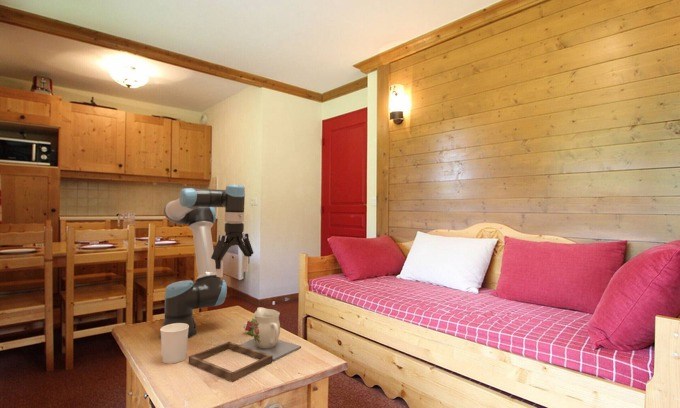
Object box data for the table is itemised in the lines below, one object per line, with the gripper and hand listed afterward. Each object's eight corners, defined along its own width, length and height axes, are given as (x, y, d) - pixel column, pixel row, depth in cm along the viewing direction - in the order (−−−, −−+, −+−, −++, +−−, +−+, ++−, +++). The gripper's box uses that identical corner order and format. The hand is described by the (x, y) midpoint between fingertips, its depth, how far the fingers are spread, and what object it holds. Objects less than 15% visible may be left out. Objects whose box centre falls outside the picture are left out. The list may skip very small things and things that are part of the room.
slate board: (234, 348, 146) (234, 346, 146) (263, 336, 159) (263, 335, 159) (273, 361, 134) (273, 359, 134) (301, 348, 147) (301, 346, 147)
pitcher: (263, 356, 136) (264, 320, 136) (246, 342, 150) (246, 309, 150) (289, 350, 142) (290, 315, 142) (270, 337, 157) (271, 305, 157)
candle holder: (159, 366, 128) (160, 333, 128) (159, 356, 137) (160, 325, 137) (189, 361, 133) (189, 329, 133) (187, 352, 141) (187, 321, 142)
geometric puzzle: (258, 324, 169) (249, 313, 166) (266, 328, 164) (257, 316, 161) (247, 336, 165) (238, 325, 162) (255, 340, 160) (246, 329, 157)
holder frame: (188, 363, 131) (188, 356, 131) (229, 347, 146) (229, 341, 146) (232, 381, 117) (232, 374, 118) (272, 362, 133) (272, 355, 133)
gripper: (215, 224, 134) (214, 280, 134) (262, 222, 155) (261, 270, 155) (202, 223, 138) (201, 278, 138) (250, 221, 159) (248, 268, 159)
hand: (232, 274), depth 147 cm, fingers open, 13 cm apart
